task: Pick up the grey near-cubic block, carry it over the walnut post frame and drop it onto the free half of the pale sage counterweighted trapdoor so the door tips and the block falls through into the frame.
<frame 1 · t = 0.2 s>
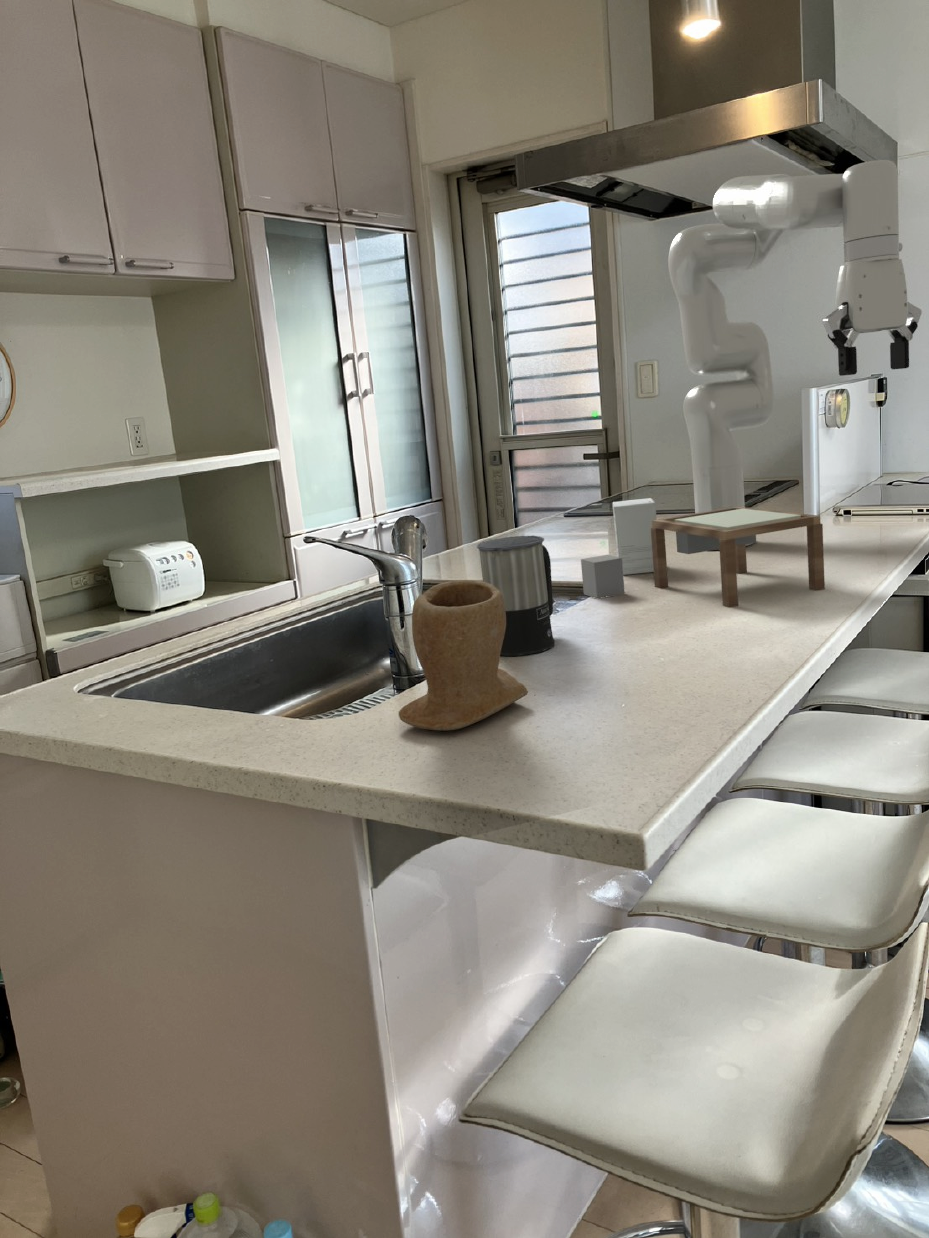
hand: (874, 371, 153), 31 cm above the worktop, fingers open, 9 cm apart
milk frother: (500, 646, 141), on the worktop
stone cup: (473, 718, 111), on the worktop
trapdoor: (736, 534, 158), point 9 cm above the worktop, hinge at 0.0°
grey near-cubic block: (604, 594, 168), on the worktop
frame: (741, 588, 159), on the worktop
supplement box: (638, 571, 185), on the worktop
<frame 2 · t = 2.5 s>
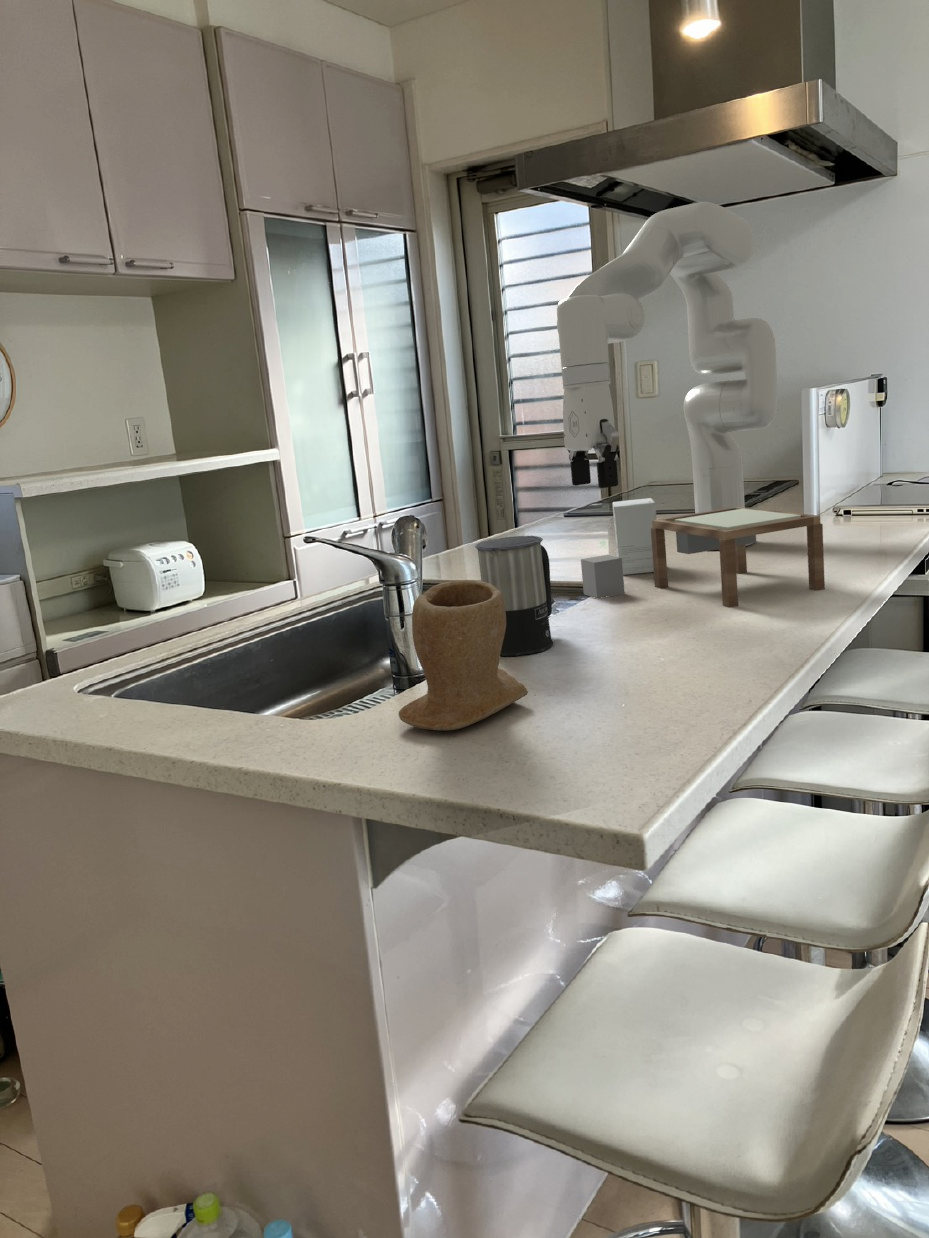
hand: (594, 485, 164), 18 cm above the worktop, fingers open, 9 cm apart
nothing on the worktop moved.
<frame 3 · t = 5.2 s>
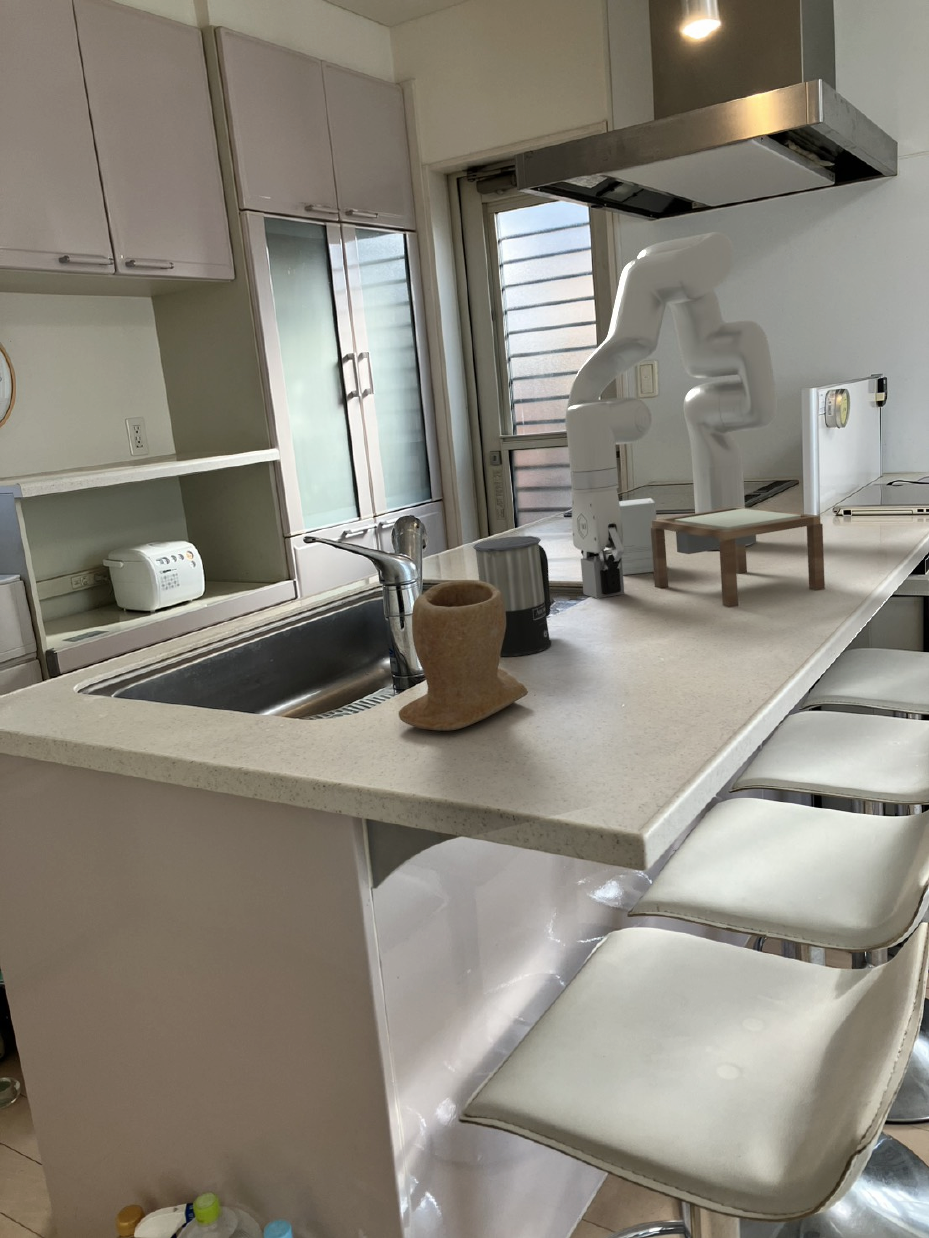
hand: (603, 589, 167), 1 cm above the worktop, fingers closed on grey near-cubic block, 5 cm apart
grey near-cubic block: (603, 593, 168), on the worktop, touching gripper
everything else where it was.
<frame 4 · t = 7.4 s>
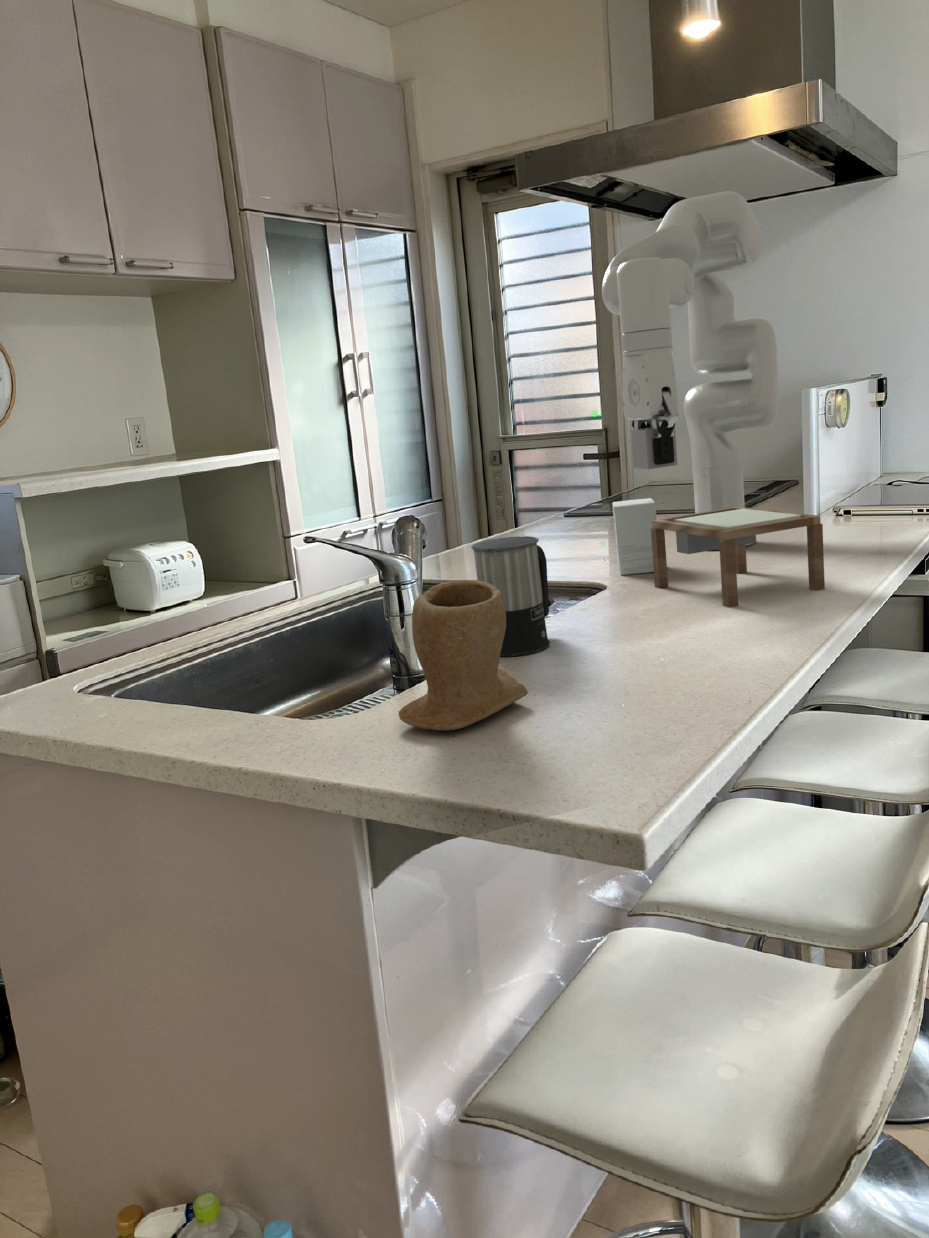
hand: (655, 461, 159), 21 cm above the worktop, fingers closed on grey near-cubic block, 5 cm apart
grey near-cubic block: (655, 466, 159), point 20 cm above the worktop, touching gripper
everything else where it was.
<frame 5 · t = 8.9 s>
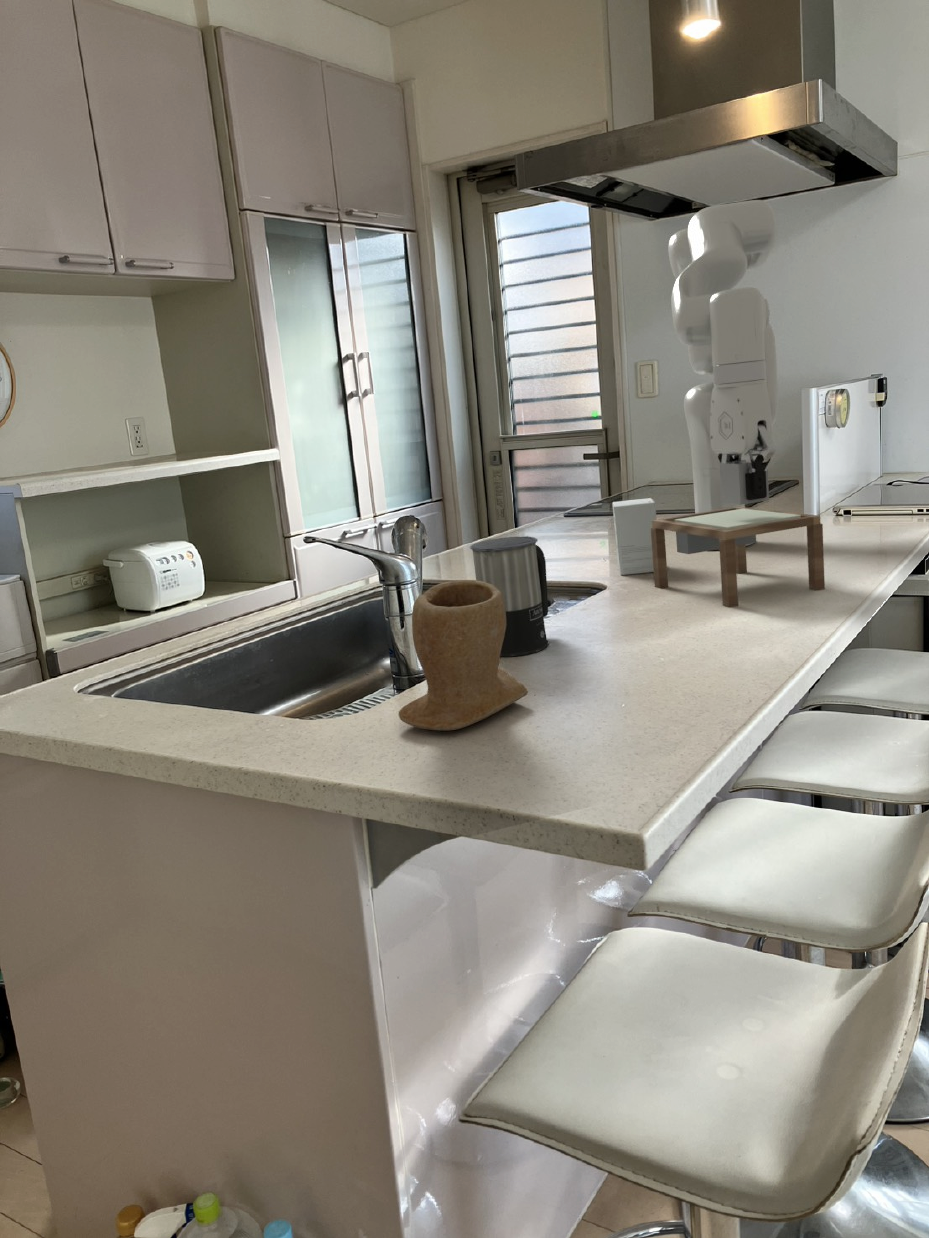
hand: (745, 496, 154), 15 cm above the worktop, fingers closed on grey near-cubic block, 5 cm apart
grey near-cubic block: (745, 501, 154), point 14 cm above the worktop, touching gripper
everything else where it was.
when the fingers open (15 cm above the worktop, at t = 9.6 s): grey near-cubic block drops 8 cm and tips over, point 6 cm above the worktop.
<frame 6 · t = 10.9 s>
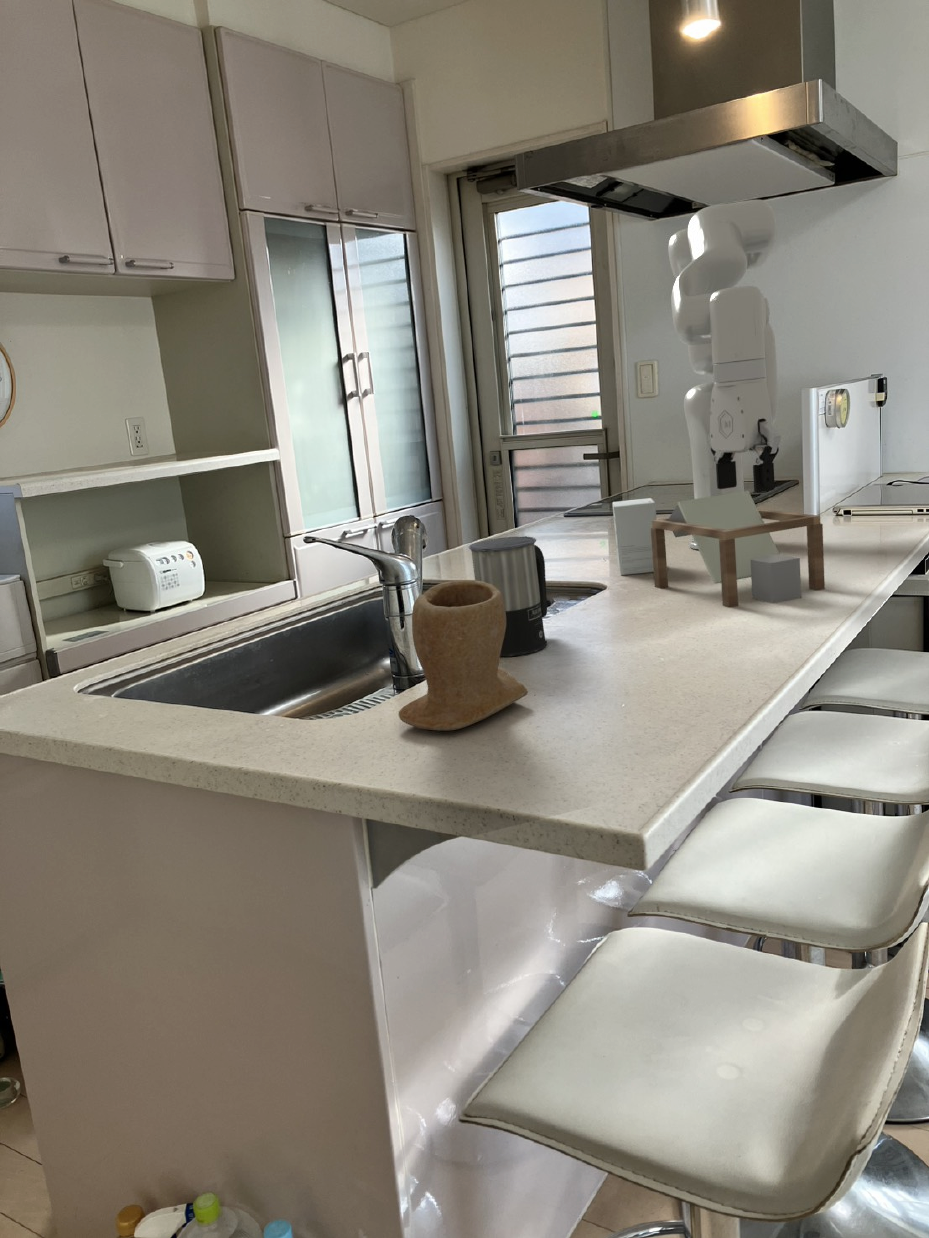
hand: (745, 489, 154), 16 cm above the worktop, fingers open, 9 cm apart
trapdoor: (725, 544, 161), point 7 cm above the worktop, hinge at -51.4°
grey near-cubic block: (774, 558, 150), point 6 cm above the worktop, tilted 180°
everything else where it was.
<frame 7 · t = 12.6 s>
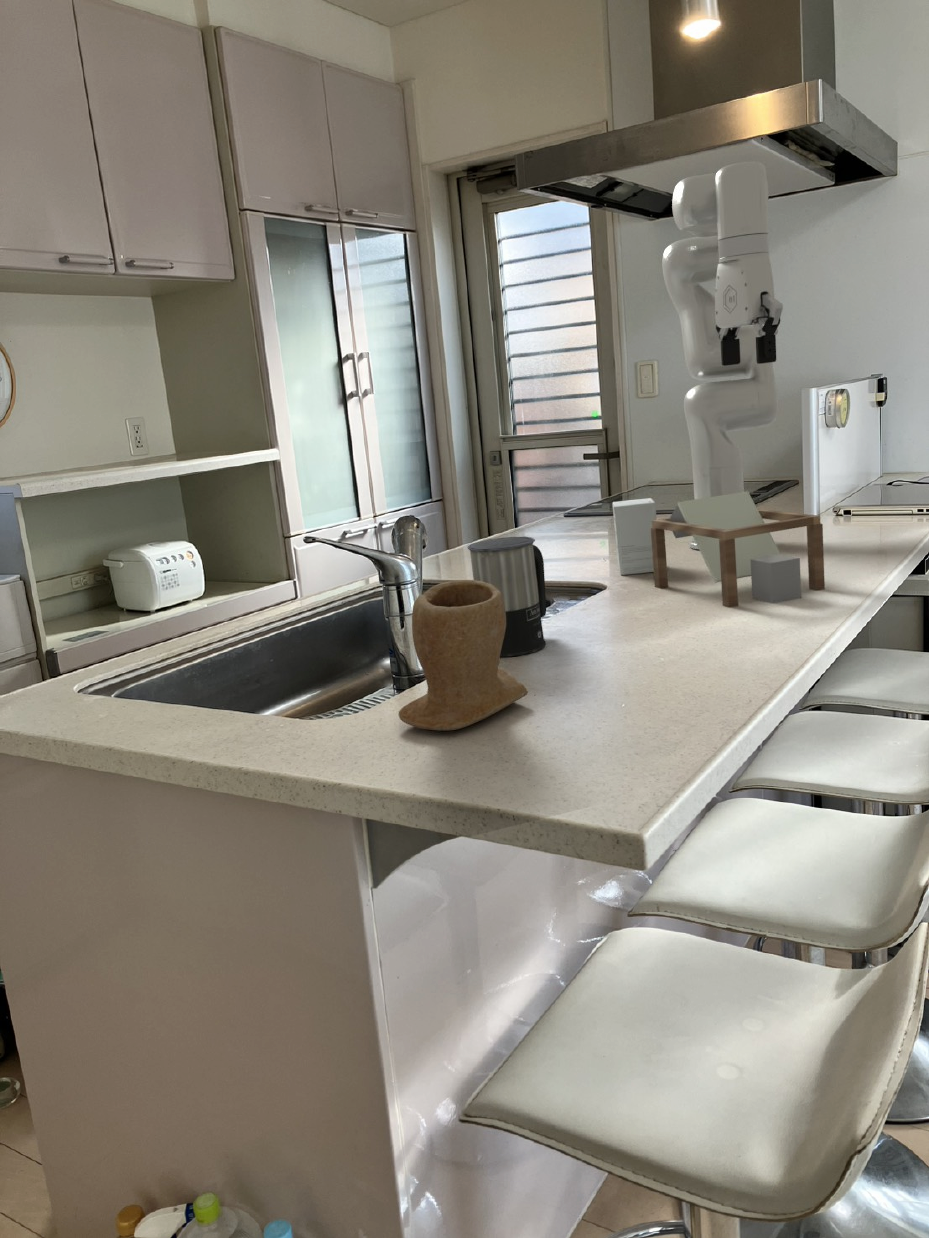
hand: (748, 363, 160), 34 cm above the worktop, fingers open, 9 cm apart
trapdoor: (726, 544, 161), point 7 cm above the worktop, hinge at -49.6°
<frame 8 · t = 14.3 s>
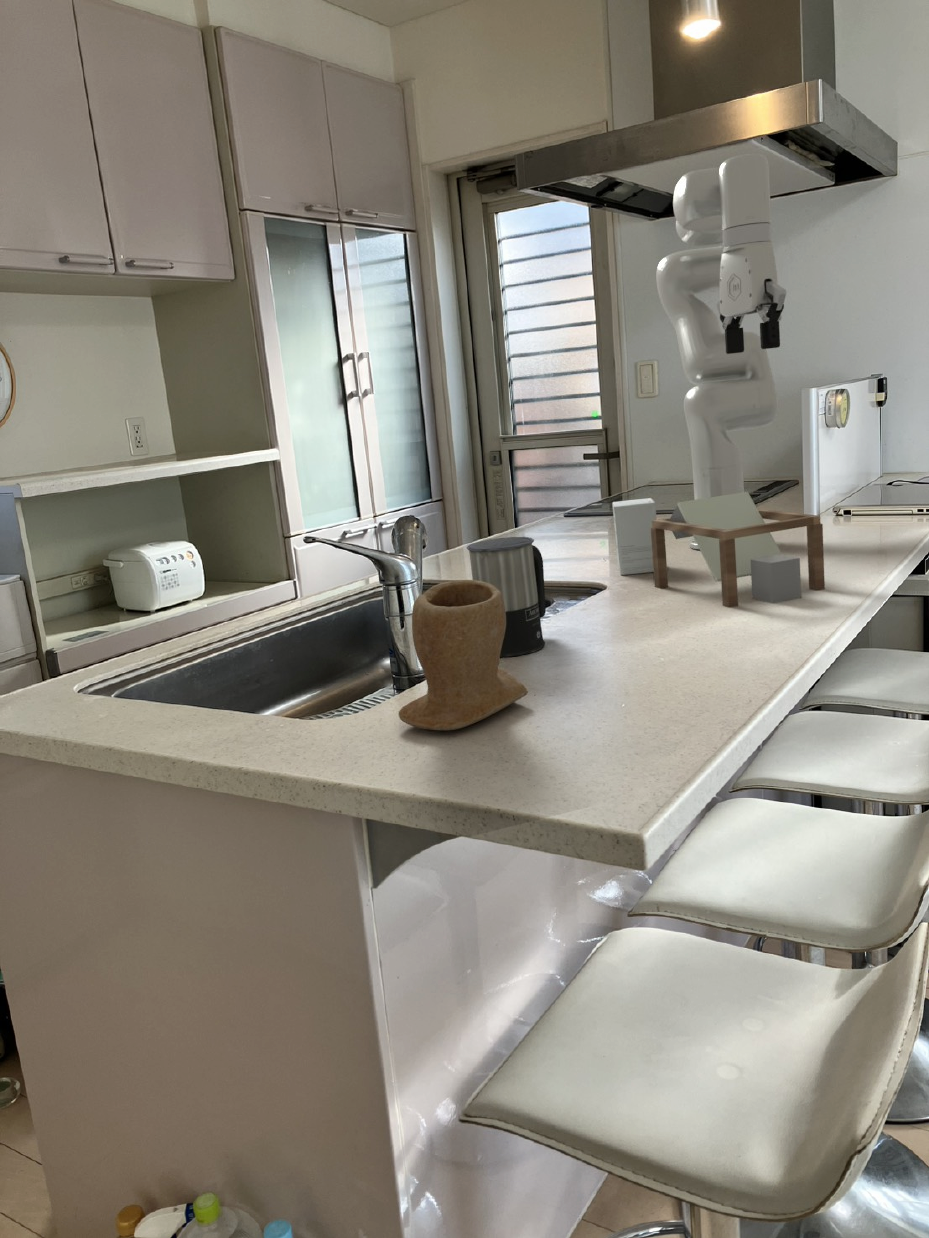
hand: (752, 350, 164), 36 cm above the worktop, fingers open, 9 cm apart
trapdoor: (726, 544, 161), point 7 cm above the worktop, hinge at -48.1°
at the end: grey near-cubic block point 5.9 cm above the worktop; grey near-cubic block 9.3 cm from the frame (horizontally); the gripper is holding nothing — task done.
